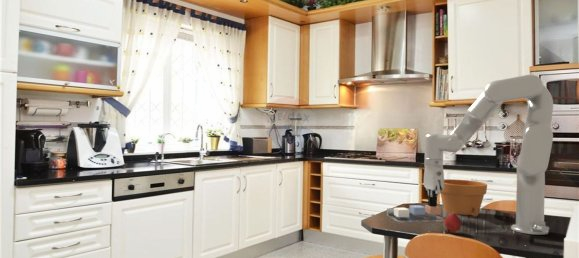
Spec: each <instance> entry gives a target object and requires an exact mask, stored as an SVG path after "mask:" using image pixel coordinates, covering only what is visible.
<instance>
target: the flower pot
mask: <svg viewBox="0 0 579 258" xmlns="http://www.w3.org/2000/svg"><path fill="white" fill-rule="evenodd" d="M487 190H488V184H487V183H485V182H482V181H477V180H469V179H468V180H467V179H453V178H452V179H451V178H447V179H445V178H444V190H440V194H439V195H440V197H441V204H442V208H443V211H444V212H445V213H449V214H451V212H454V213H455V215H459V216H460V215H461V216H462V215H464V216H471V217H475V218H476V217H477V216H478V215H479V213H480V210H481V206H482V204H483V200H484V196H485V195H487Z"/></svg>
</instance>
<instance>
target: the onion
mask: <svg viewBox="0 0 579 258" xmlns="http://www.w3.org/2000/svg"><path fill="white" fill-rule="evenodd" d="M444 219H445V221H444V226H445V228H446V229H447V230H448V231H449V232H450V233H452V234H454V233H456V232H457V231H459V230H460V229H461V227H462V221H461V219H460V217H459V216H458V214H455V213H454V212H451V213H449V214H448V215H447V216H446V217H445V218H444Z"/></svg>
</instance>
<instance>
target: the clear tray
mask: <svg viewBox="0 0 579 258" xmlns="http://www.w3.org/2000/svg"><path fill="white" fill-rule="evenodd" d="M394 208H395V207H393V208H391V207H389V208H386V216H387V217H389V218H390V219H392V220H394V221H396V222H398V223H426V222H427V223H429V222H430V223H432V222H434V223H435V222H441V223H442V222H445V219H446V218H443V217H440V215H438V214H431V215H430V214H428V213H426V212H425V215H414V214H412V213H410V207H408V208H407V207H406V208H407V209H409V217H397V216H395V215H394Z"/></svg>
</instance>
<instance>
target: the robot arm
mask: <svg viewBox="0 0 579 258" xmlns="http://www.w3.org/2000/svg"><path fill="white" fill-rule="evenodd" d="M521 99H525V101H526V103H527V110H526V116H525V117H526V118H525V123H524V127H523V130H522V141H521V145H520V146H521V147H520V153H519V155H518V156H517V159H516V192H515V193H516V200H515V201H516V202H515V206H516V207H515V224H512V225H511V230H513V231H514V232H517V233H521V234H527V235H538V236H539V235H540V236H541V235H548V234H549V230H550V227H549V226H547V225H546V221H545V197H546V195H545V192H546V189H545V188H546V171H547V169H548V167H549V162H550V156H551V153H552V146H553V140H554V133H553V130H552V128H551V126H552V118H553V111H554V100H553V96H552V94H551V92H550V91H549V89H548V88H547V87H546V86H545V85H544V84H543V80H542V79H541V78H540V77H539V76H538V75H534V74H524V75H521V76H520V75H519V76H514V77H510V78H504V79H498V80H494V81H491V82H488V84H487V85H486V86H485V88H484V90H483V91H482V92H481V93H480V95H479V96H478V97H477V98H476V99H475V101H474V102H473V103H471V105H470V106H469V107H468V108H467V110H466V112H465V113H464V115H463V117H462V119H461V120H460V121H459V123H458V124H457V126H455V128H454V129H453V130H452V131H451V133H450V134H440V133H427V134H426V135H425V137H424V159H423V160H424V162H423V163H424V165H423V166H424V171H423V172H424V173H423V187H424V188H425V191H427V205H428V206H438V204H437V203H438V196H439V195H441V194H440V190H444V179H445V173H444V152H448V153H457V152H459V151H460V150H461V149H463V147H465V145H466V144H467V143H468V142H469V141H470V140H471V138H472V137H473V136H474V135H475V134H476V132H478V131H479V129H480V128H482V127H483V126H484V125H485V124H486V123H487V121H488V120H489V119H490V118H491V117H492V116H493V114H494V113H495V112H496V111H497V110H498V109H499V108H500V106H501V105H503V103H504V102H508V101H509V102H510V101H515V100H521Z"/></svg>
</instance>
